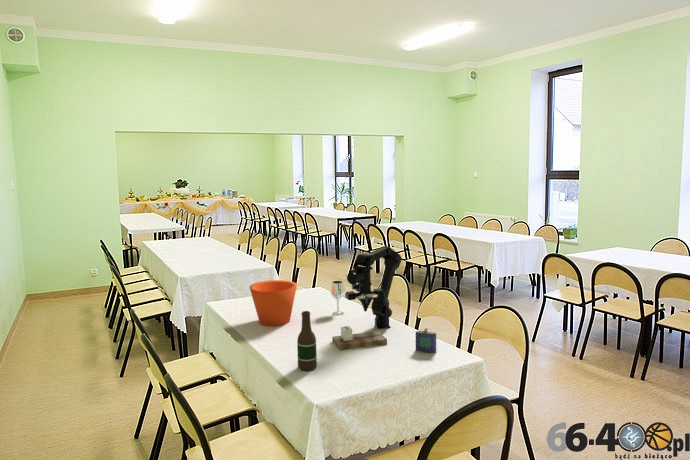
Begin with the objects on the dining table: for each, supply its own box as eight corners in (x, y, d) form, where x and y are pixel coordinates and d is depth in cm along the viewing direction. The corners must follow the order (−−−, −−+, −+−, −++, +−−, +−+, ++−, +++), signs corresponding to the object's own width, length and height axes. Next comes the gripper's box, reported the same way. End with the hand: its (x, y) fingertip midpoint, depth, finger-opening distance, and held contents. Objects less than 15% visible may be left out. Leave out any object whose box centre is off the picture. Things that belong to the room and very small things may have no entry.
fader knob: (349, 336, 240) (349, 325, 239) (352, 339, 235) (352, 329, 234) (341, 337, 238) (340, 326, 238) (344, 340, 234) (343, 330, 233)
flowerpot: (241, 326, 266) (240, 289, 264) (266, 312, 289) (265, 278, 287) (284, 331, 257) (282, 293, 254) (306, 317, 280) (305, 282, 277)
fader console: (377, 335, 248) (377, 330, 247) (387, 344, 236) (387, 338, 236) (332, 341, 241) (332, 336, 241) (339, 350, 230) (339, 344, 229)
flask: (436, 351, 227) (436, 328, 225) (436, 353, 224) (436, 330, 223) (415, 349, 229) (415, 326, 228) (415, 351, 227) (414, 328, 225)
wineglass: (343, 315, 281) (343, 284, 278) (329, 315, 282) (328, 283, 280) (346, 311, 288) (346, 280, 286) (332, 311, 290) (331, 280, 288)
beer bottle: (298, 364, 215) (296, 309, 212) (316, 363, 216) (315, 308, 212) (298, 372, 207) (296, 315, 204) (317, 371, 208) (315, 314, 205)
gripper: (376, 274, 256) (377, 304, 259) (341, 278, 251) (342, 308, 253) (385, 279, 246) (385, 310, 248) (348, 283, 240) (349, 315, 243)
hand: (365, 311), depth 248 cm, fingers closed
